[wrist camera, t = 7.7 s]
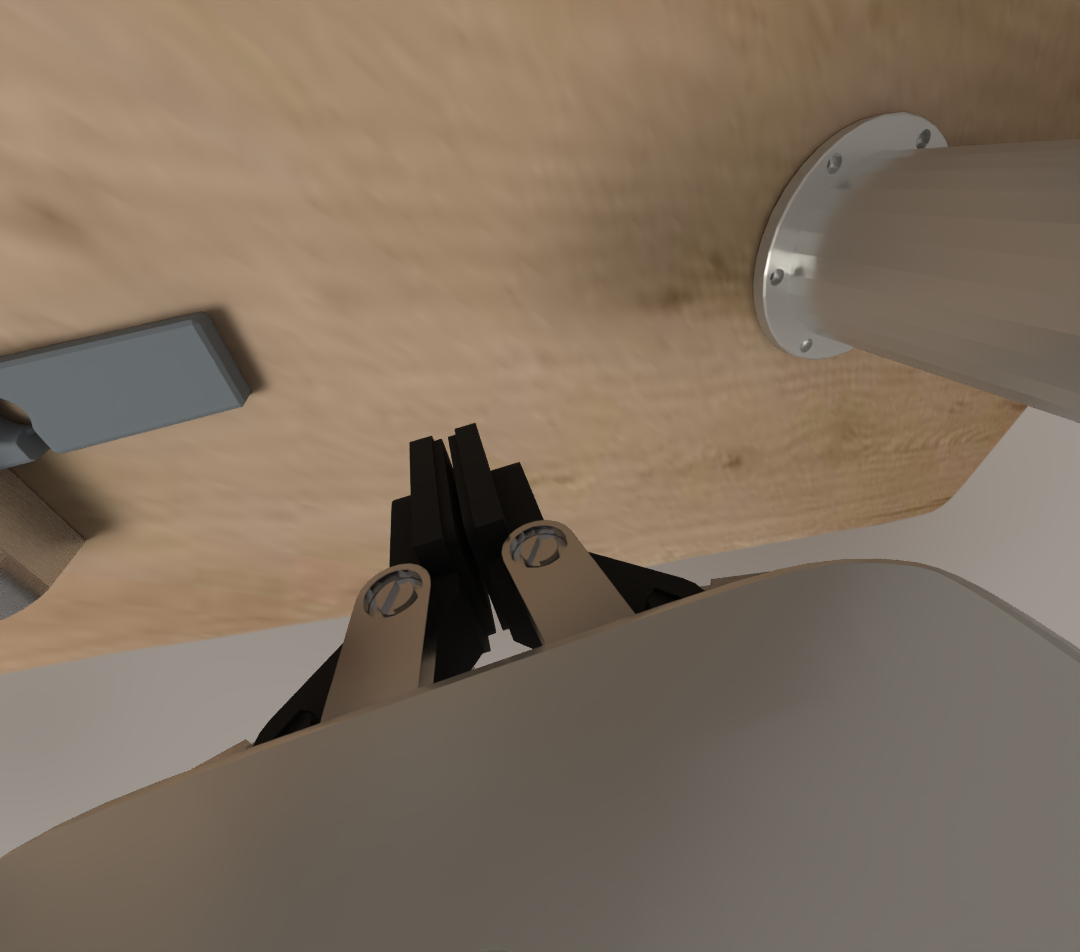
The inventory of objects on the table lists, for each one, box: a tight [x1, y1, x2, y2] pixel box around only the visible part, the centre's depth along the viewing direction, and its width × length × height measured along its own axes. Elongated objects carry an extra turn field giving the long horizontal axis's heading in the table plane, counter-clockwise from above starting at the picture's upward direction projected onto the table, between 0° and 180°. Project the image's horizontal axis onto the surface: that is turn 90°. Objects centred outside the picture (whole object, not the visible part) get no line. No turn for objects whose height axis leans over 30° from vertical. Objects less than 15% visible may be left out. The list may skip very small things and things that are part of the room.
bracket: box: [0, 312, 251, 470], centre depth 19 cm, size 4×10×2 cm, turn 100°
